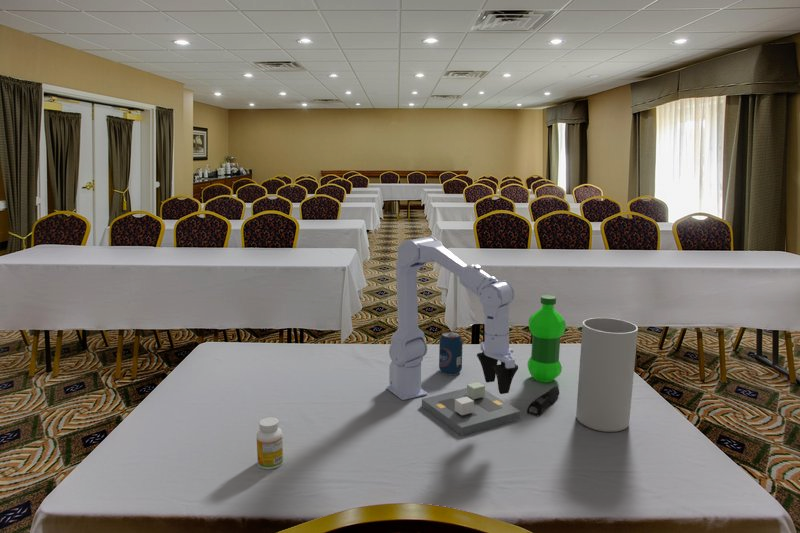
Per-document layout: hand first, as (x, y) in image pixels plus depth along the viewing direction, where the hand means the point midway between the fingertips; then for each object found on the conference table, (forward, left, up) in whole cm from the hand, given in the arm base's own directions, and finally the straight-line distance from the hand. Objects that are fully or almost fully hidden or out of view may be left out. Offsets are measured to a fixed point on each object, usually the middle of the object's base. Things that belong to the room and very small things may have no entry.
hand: (496, 387), depth 136 cm
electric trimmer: (-4, +19, -11) cm, 23 cm away
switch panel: (-10, -1, -10) cm, 14 cm away
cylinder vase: (+10, +25, -11) cm, 29 cm away
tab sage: (-13, +3, -8) cm, 15 cm away
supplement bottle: (-11, -53, -11) cm, 55 cm away
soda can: (-35, +10, -11) cm, 38 cm away
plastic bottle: (-17, +31, -11) cm, 37 cm away
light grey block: (-7, -5, -8) cm, 11 cm away
